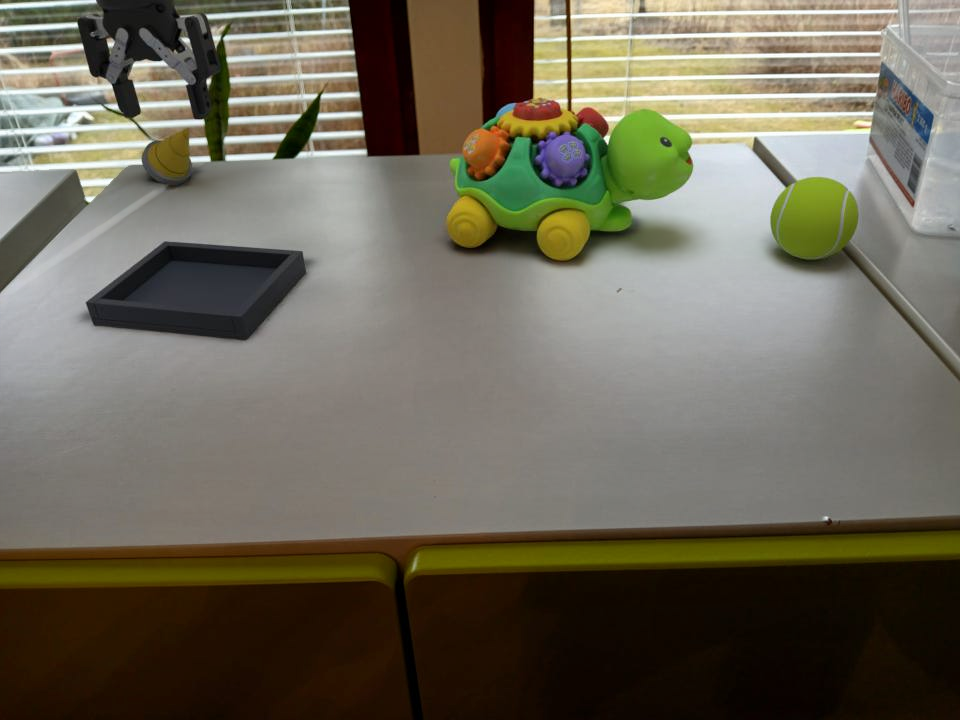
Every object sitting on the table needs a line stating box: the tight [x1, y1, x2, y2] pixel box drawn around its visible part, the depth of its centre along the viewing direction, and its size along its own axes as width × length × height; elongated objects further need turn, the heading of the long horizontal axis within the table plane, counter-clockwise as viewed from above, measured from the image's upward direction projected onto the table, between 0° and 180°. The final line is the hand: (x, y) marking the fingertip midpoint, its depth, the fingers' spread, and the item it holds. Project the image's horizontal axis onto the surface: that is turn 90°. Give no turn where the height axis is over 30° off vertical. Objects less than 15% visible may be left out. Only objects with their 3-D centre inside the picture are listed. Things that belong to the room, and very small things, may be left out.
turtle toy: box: [445, 97, 694, 262], centre depth 74 cm, size 17×23×12 cm
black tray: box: [85, 240, 307, 340], centre depth 67 cm, size 14×12×2 cm
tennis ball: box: [769, 176, 859, 261], centre depth 68 cm, size 7×7×7 cm
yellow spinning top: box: [141, 127, 193, 186], centre depth 89 cm, size 5×5×10 cm
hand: (167, 116), depth 87 cm, fingers open, 8 cm apart
